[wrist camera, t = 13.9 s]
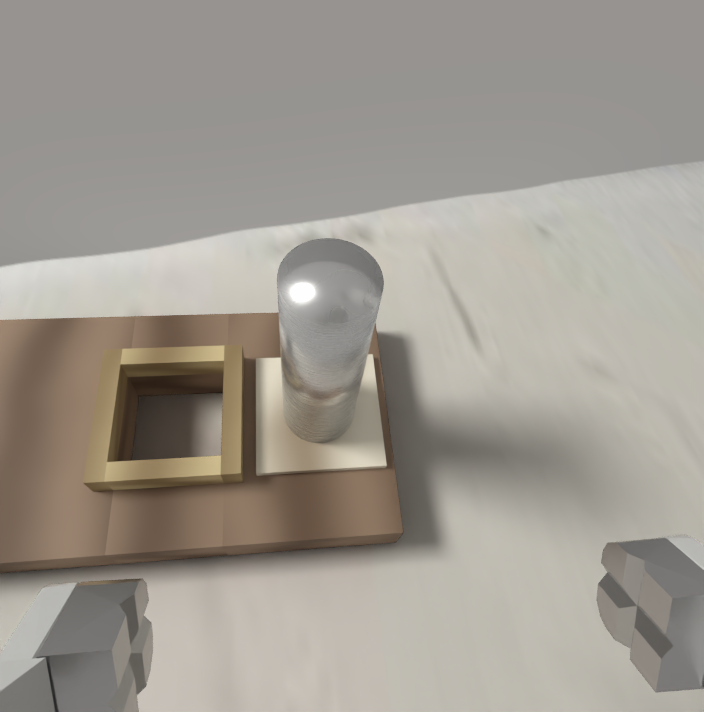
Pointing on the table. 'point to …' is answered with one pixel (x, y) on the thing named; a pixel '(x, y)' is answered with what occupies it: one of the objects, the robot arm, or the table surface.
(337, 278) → the steel pin
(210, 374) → the wooden peg board
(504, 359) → the table surface
